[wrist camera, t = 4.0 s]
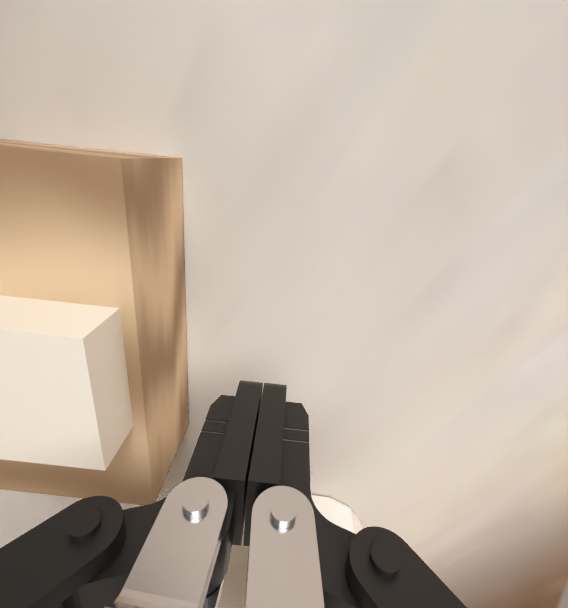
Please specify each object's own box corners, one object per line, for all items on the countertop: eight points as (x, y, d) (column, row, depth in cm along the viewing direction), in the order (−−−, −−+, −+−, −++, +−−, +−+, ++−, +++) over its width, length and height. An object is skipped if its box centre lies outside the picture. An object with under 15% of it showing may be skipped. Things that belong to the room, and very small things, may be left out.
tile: (-33, 291, 11) (-101, 318, 9) (119, 308, 11) (82, 338, 9) (4, 412, 13) (-45, 454, 11) (133, 426, 13) (105, 470, 11)
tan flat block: (-111, 128, 14) (-317, 113, 9) (181, 157, 14) (120, 158, 9) (-18, 400, 19) (-117, 476, 15) (188, 423, 19) (153, 506, 15)
